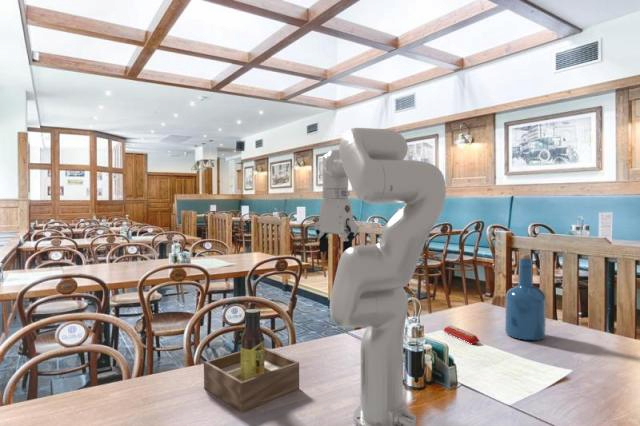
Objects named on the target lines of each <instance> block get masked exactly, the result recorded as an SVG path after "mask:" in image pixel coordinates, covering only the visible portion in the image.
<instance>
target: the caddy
mask: <svg viewBox="0 0 640 426" xmlns="http://www.w3.org/2000/svg"><path fill="white" fill-rule="evenodd" d="M203 389H205V390H207V391H208V392H209V393H211V394H213V395H214V396H215V397H217V398H219V399H220V400H222V401H224V402H225V403H227V404H228V405H229V406H231V407H232V408H234V409H236V410H237V411H238V412H240V413H241V414H242V413H245V412H247V411H250V410H251V409H254V408H256V407H260V406H261V405H263V404H265V403H268V402H270V401H273V400H275V399H277V398H280V397H283V396H284V395H287V394H290V393H292V392H294V391H297V390H299V389H300V362H299V361H296V360H294V359H291V358H290V357H287V356H285V355H282V354H280V353H278V352H275V351H273V350H271V349H269V348H267V347H265V373H264V374H262V375H259V376H256V377H253V378H251V379H248V380H245V381H241V350H240V351H236V352H233V353H230V354H226V355H223V356H219V357H216V358H213V359H209V360H207V361H203Z"/></svg>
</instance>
